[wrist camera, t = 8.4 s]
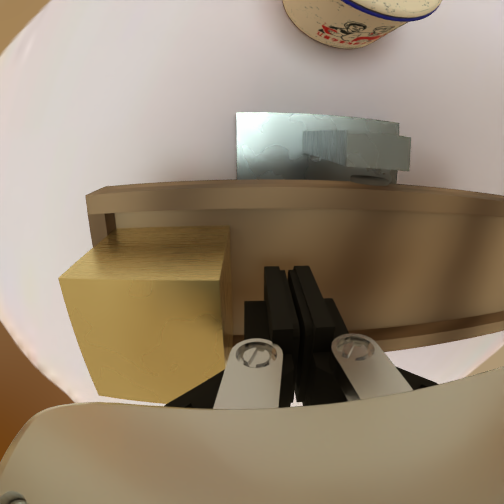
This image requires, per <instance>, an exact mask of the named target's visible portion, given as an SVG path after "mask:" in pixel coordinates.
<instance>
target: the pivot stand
mask: <svg viewBox="0 0 504 504" xmlns="http://www.w3.org/2000/svg"><path fill="white" fill-rule="evenodd" d="M236 122H237V180H250V179H283V180H330V181H350V176H351V175H367V176H375V177H381V178H385V179H388V180H389V184H396V180H397V170H401V171H409V165H410V148H411V137H404V136H399V123H395V122H388V121H381V120H373V119H365V118H355V117H345V116H333V115H320V114H302V113H269V112H242V113H236Z"/></svg>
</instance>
